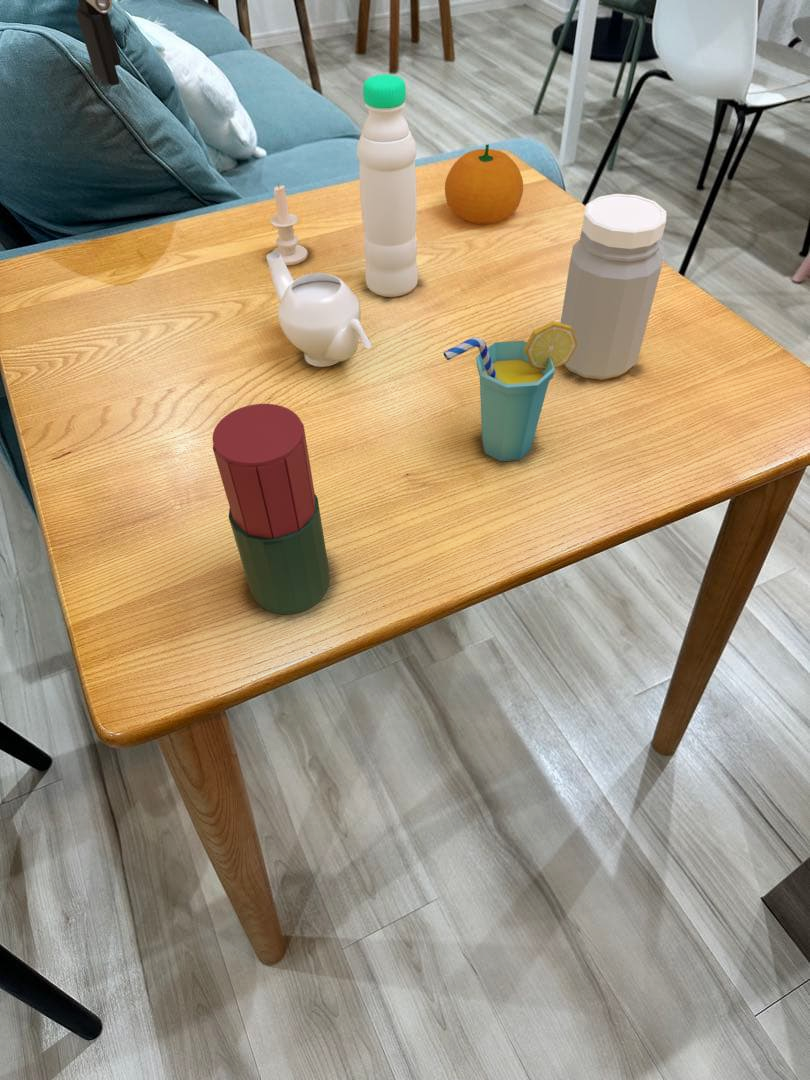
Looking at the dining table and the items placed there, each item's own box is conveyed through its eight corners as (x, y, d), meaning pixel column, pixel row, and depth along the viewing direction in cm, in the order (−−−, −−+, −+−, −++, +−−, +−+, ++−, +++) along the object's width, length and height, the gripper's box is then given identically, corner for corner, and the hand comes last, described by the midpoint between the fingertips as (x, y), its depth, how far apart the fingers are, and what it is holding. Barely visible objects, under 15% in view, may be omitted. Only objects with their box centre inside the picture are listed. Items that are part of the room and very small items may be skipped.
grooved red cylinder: (230, 541, 58) (208, 467, 52) (236, 480, 63) (216, 405, 57) (315, 535, 58) (302, 460, 52) (315, 474, 63) (303, 399, 57)
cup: (461, 493, 75) (467, 370, 64) (424, 447, 80) (424, 325, 68) (574, 447, 79) (599, 324, 68) (533, 407, 84) (550, 285, 72)
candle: (264, 259, 106) (251, 186, 99) (286, 244, 109) (275, 171, 101) (293, 269, 105) (282, 194, 97) (314, 252, 107) (306, 179, 100)
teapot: (339, 411, 84) (331, 340, 77) (249, 333, 94) (234, 265, 87) (405, 378, 88) (403, 307, 81) (312, 307, 98) (303, 239, 91)
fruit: (446, 195, 118) (448, 128, 111) (520, 197, 117) (527, 129, 110) (441, 231, 111) (442, 161, 103) (520, 233, 110) (527, 163, 102)
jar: (654, 366, 88) (696, 217, 74) (590, 394, 85) (621, 244, 71) (599, 327, 94) (629, 181, 80) (537, 352, 90) (557, 204, 77)
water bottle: (427, 280, 102) (427, 74, 83) (399, 304, 98) (393, 94, 79) (384, 267, 104) (375, 64, 86) (356, 290, 101) (339, 83, 82)
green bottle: (248, 617, 66) (211, 499, 54) (252, 555, 70) (219, 434, 59) (330, 611, 66) (310, 492, 54) (329, 549, 70) (310, 428, 59)
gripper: (50, -297, 41) (139, 54, 54) (-311, -284, 35) (-113, 110, 48) (96, -298, 37) (181, 83, 50) (-303, -283, 31) (-90, 147, 44)
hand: (37, 95), depth 49 cm, fingers open, 9 cm apart
